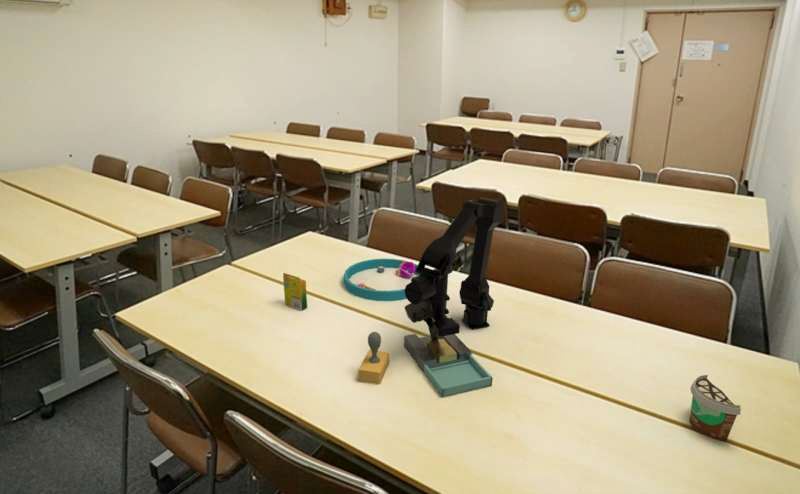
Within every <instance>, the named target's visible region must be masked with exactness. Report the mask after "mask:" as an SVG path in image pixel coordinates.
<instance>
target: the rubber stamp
mask: <svg viewBox="0 0 800 494" xmlns="http://www.w3.org/2000/svg"><path fill="white" fill-rule="evenodd" d="M367 344H368V346H369V348H370V349H369V350H368V351H367V353H366V355H365V356H364V359H362V362H361V364H360V366H359V368H358V372H357V373H358V382H359V381H361V382H360V383H366V382H367V383H366V384H372V383H373V385H380V384H381V383H382V380H383V379H384V376H385V373H386V372H387V369H388V368H389V365H390V352H389V351H383V350H379V349H380V346H381V344H382V336H381V334H380V333H379V332H377V331H372V332H371V333H369V334H368V336H367Z"/></svg>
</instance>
